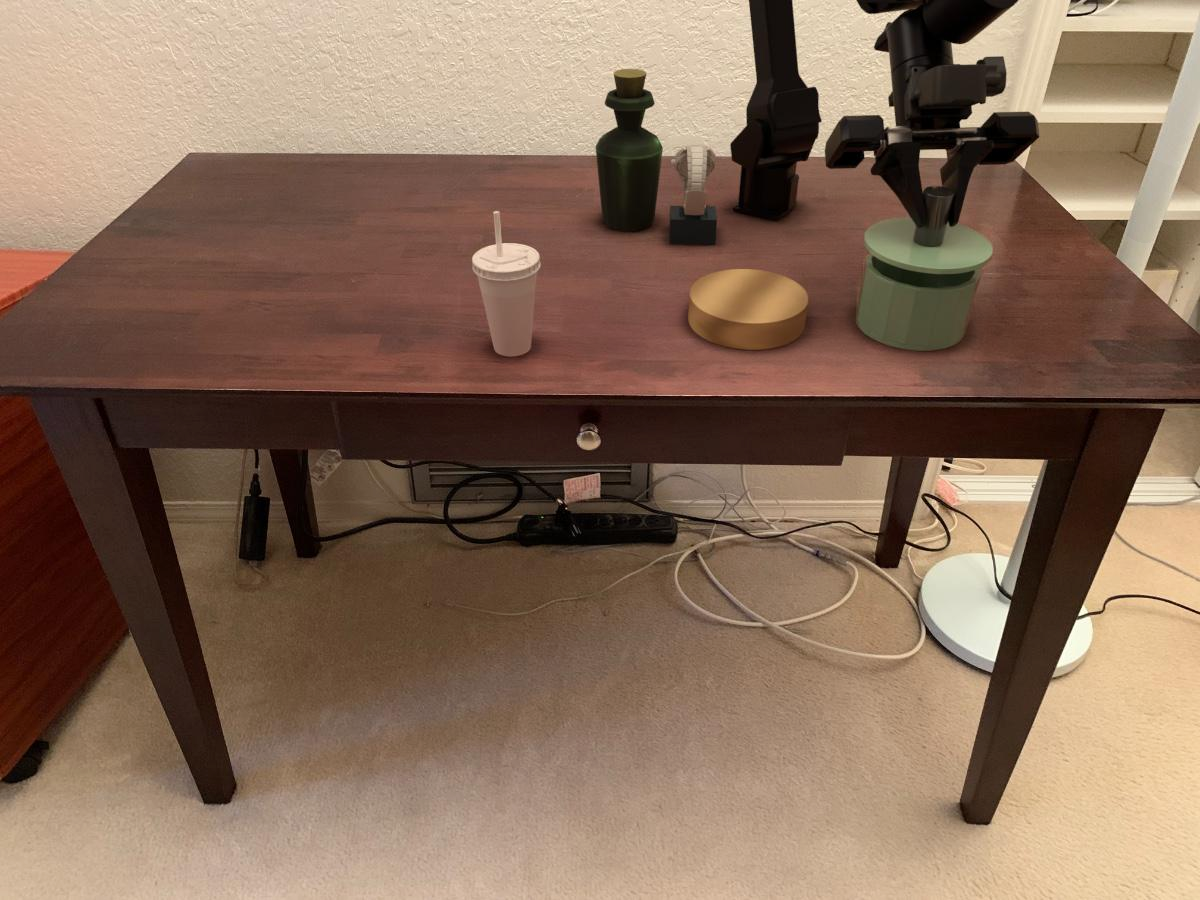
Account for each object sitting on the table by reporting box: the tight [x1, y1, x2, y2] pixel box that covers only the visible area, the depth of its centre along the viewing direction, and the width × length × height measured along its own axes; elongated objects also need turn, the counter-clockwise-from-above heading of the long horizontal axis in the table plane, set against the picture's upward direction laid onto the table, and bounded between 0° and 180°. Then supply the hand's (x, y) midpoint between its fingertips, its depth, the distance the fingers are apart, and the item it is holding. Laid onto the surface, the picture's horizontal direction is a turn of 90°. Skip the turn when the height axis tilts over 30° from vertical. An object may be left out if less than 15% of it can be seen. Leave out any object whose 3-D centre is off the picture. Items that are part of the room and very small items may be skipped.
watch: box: [668, 143, 718, 246], centre depth 108 cm, size 6×8×11 cm
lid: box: [862, 185, 994, 274], centre depth 87 cm, size 12×12×6 cm
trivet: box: [687, 268, 809, 351], centre depth 93 cm, size 12×12×3 cm
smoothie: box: [471, 210, 542, 357], centre depth 86 cm, size 6×6×14 cm
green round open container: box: [855, 252, 982, 352], centre depth 91 cm, size 11×11×7 cm
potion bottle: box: [595, 68, 664, 232], centre depth 110 cm, size 8×8×18 cm
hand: (937, 225), depth 85 cm, fingers closed on lid, 3 cm apart
